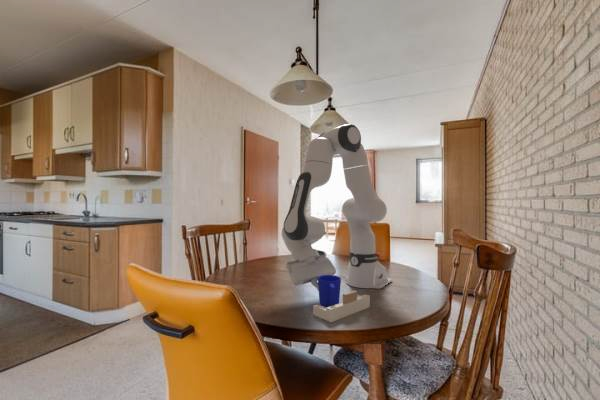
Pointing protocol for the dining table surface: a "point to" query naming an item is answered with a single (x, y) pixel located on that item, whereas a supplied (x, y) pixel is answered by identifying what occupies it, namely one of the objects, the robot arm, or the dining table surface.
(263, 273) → the dining table surface
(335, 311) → the beige blocky open frame
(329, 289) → the mug
